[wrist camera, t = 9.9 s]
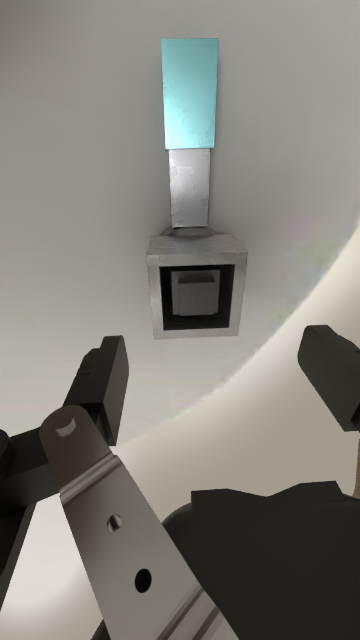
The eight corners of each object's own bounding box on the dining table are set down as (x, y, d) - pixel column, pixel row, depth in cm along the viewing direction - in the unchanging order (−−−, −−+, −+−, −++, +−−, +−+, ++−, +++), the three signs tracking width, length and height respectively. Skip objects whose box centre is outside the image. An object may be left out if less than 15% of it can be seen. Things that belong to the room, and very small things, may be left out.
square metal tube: (151, 236, 19) (146, 255, 14) (229, 234, 19) (248, 251, 14) (156, 306, 22) (154, 339, 17) (224, 303, 22) (237, 335, 18)
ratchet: (132, 58, 16) (104, -31, 9) (240, 56, 16) (294, -33, 9) (153, 297, 24) (148, 345, 18) (223, 294, 25) (244, 341, 18)
